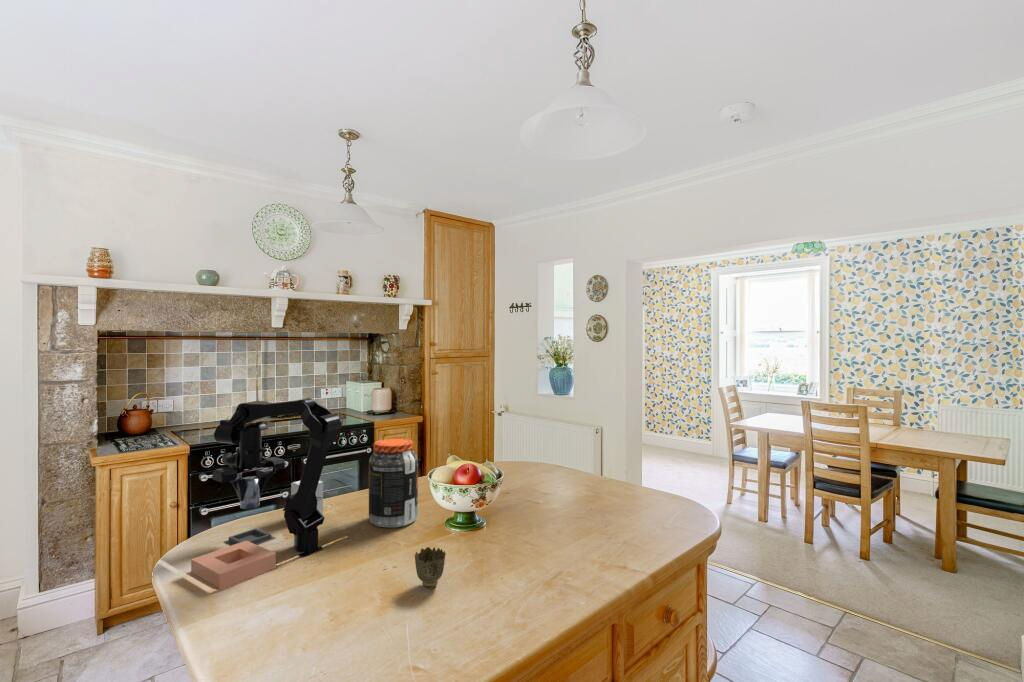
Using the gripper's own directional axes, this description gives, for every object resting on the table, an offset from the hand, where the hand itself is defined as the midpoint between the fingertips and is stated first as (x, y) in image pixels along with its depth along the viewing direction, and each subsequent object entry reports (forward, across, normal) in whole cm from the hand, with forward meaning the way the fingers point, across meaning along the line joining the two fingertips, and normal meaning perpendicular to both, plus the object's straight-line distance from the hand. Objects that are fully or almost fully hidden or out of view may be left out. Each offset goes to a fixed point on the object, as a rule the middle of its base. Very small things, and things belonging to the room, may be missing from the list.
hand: (250, 498), depth 146 cm
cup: (+13, -11, +60) cm, 62 cm away
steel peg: (+2, 0, 0) cm, 2 cm away
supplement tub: (+13, -36, +21) cm, 44 cm away
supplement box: (+13, -20, -2) cm, 24 cm away
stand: (+13, 0, 0) cm, 13 cm away
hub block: (+13, +12, +14) cm, 23 cm away
